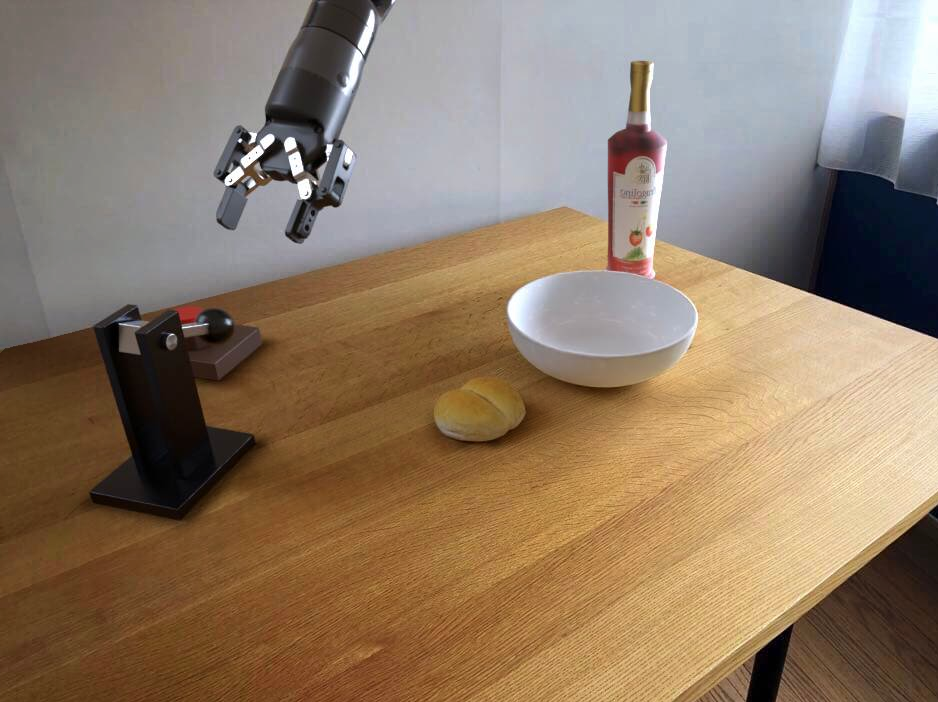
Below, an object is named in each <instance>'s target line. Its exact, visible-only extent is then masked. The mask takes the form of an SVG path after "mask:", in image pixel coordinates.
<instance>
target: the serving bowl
mask: <svg viewBox="0 0 938 702" xmlns="http://www.w3.org/2000/svg"><path fill="white" fill-rule="evenodd" d="M505 315H506V322H507V327H508V331H509V334H510V337H511V340H512V341H513V344H514V345H515V347H516V349H517V350H518V351H519V353H520V354H521V356H522V357H523V358H524V359H525V360H526V361H527V362H529V363H530V364H531V365H532V366H534V368H536V369H537V370H539V371H540V372H543V373H544V374H546V375H548V376H550V377H552V378H555V379H556V380H560V381H563V382H566V383H569V384H573V385H578V386H583V387H593V388H618V387H625V386H631V385H636V384H640V383H643V382H647V381H650V380H651V379H654V378H657V377H658V376H660V375H662V374H664V373H666V372H667V371H668V370H670V369H671V368H673V366H675V365H677V363H678V362H679V361H680V360H681V359H682V358H683V357H684V355H685V354H686V352H688V349H689V348H690V346H691V344H692V342H693V339H694V336H695V333H696V331H697V326H698V322H699V314H698V311H697V308H696V307H695V305H694V303H693V302H692V301H691V299H690V298H689V297H688V296H686V295H685V294H684V293H682V291H680V290H678V289H677V288H676V287H673V286H672V285H669V284H668V283H665V282H663V281H660V280H657V279H655V278H653V279H651V278H648V277H645V276H641V275H636V274H631V273H625V272H616V271H604V270H603V269H602V270H601V269H600V270H597V269H594V270H593V269H590V270H589V269H588V270H587V269H585V270H574V271H566V272H560V273H554V274H550V275H545V276H542V277H540V278H536V279H535V280H532V281H530V282H527V283H526V284H524V285H522V286H521V287H519V288H518V289H517V290H516V291H514V293H513V294H512V295H511V296H510V298H509V299H508V300H507V303H506V308H505Z"/></svg>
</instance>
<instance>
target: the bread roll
mask: <svg viewBox="0 0 938 702" xmlns="http://www.w3.org/2000/svg"><path fill="white" fill-rule="evenodd" d="M526 413H527V410H526V406H525V404H524V400H523V398H522V397H521V395H520V394H519V392H518V391H517V390H516V388H514V386H512V385H511V384H510V383H508V382H507V381H505V380H504V379H501V378H499V377H496V376H495V377H494V376H479V377H474V378H472V379H470V380H469V381H467V382H466V383H465V384H464V385H462V387H461V388H459V389H452V390H451V389H450V390H448V391H446V392H444V393H443V394H442V395H440V397H438V399H437V400H436V402H435V404H434V407H433V419H434V421H435V424H436V426H437V428H438V429H439V430H440V433H442V434H443V435H445V436H446V437H449V438H451V439H454V440H458V441H463V442H464V441H465V442H487V441H488V442H489V441H493V440H495V439H499V438H500V437H502V436H504V435H506V434H507V433H508V432H509V431H511V430H514V429H516V428H517V427H518V426H519V425H520V424H521V423H522V421H523V420H524V418H525V416H526Z"/></svg>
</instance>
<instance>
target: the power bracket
mask: <svg viewBox="0 0 938 702" xmlns="http://www.w3.org/2000/svg"><path fill="white" fill-rule="evenodd" d="M134 321H143V320H142V317H141V312H140V310H139V306H138V305H137V304H130V303H127V304H126V305H124V306H123V307H121V308H119V309H118V310H116V311H115V312H113V313H111V314H109V315H108V316H106V317H104V318H103V319H101V320H100V321H99V322H97V323H95V324H93V325H92V329H93V332H94V335H95V339H96V343H97V345H98V349H99V352H100V355H101V358H102V361H103V364H104V365H103V366H104V368H105V371H106V375H107V378H108V381H109V385H110V388H111V391H112V395H113V398H114V401H115V405H116V408H117V410H118V414H119V417H120V421H121V424H122V428H123V430H124V433H125V436H126V441H127V443H128V447H129V450H130V453H131V456H129V457H128V458H127V459H126V460H125V461H124V462H123V463H121V464H120V465H119V466H117V468H115V469H114V470H113V471H111V472H110V473H109V474H108V475H106V477H104V478H103V479H102V480H101V481H100V482H98V483H97V484H96V485H95V486H94V487H93V488H91V489H90V490H89V491H88V494H89V496H90V499H91V502H92V503H93V504H94V503H95V504H99V505H103V506H109V507H114V508H117V509H118V508H119V509H124V510H128V511H134V512H138V513H144V514H147V515H148V514H149V515H153V516H158V517H162V518H167V519H172V520H178V521H181V520H183V518H184V517H185V516H186V515H188V513H189V512H190V511H191V510H193V508H194V507H195V506H196V505H197V504H198V503H199V502H200V501H201V500H203V498H204V497H205V496H206V495H207V494H208V493H209V492H210V491H211V490H212V489H213V488H214V487H215V486H216V485H217V484H218V483H219V482H221V480H222V479H223V478H224V477H225V476H226V475H227V474H228V473H229V472H230V471H231V470H232V469H233V468H234V467H235V466H236V465H237V464H238V463H239V462H240V461H241V460H242V459H243V458H244V457H245V456H246V455H247V454H248V453H249V452H250V451H251V450H252V448H254V447H255V446H256V445H257V444H256V443H257V441H256V437H255V434H254V433H249V432H243V431H238V430H232V429H226V428H220V427H214V426H209V425H207V423H206V420H205V416H204V410H203V406H202V403H201V399H200V395H199V390H198V387H197V383H196V382H197V381H196V377H194V374H193V370H192V366H191V361H190V357H189V353H188V349H187V345H186V341H185V337H184V333H183V329H182V325H181V321H180V316H179V312H178V311H175V310H174V309H167V310H165V311H163V312H162V313H161V314H160V315H158V316H156V317H155V318H153V319H152V320H150V321H149V323H148V324H146V325H145V326H143V327H142V328H140V329H139V330H137V331H136V332H134V333H135V337H136V340H137V344H138V347H139V351H140V354H141V355H136V354H130V353H124V352H119V323H126V322H134Z"/></svg>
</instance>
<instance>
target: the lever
mask: <svg viewBox="0 0 938 702" xmlns="http://www.w3.org/2000/svg"><path fill="white" fill-rule="evenodd" d="M149 322H150V321H149V320H148V321H147V320H142V321H134V322H126V323H119V352H124V353H130V354H136V355H141V354H140V351H139V347H138V344H137V340H136V337H135V333H134V332H136V331H137V330H139V329H140V328H142V327H143V326H145V325H146V324H148V323H149ZM234 324H235V320H234V318H233V317H232V315H231V313H229V312H228V311H226V310H225V309H223V308H221V307H215V306H213V307H212V306H211V307H207V308H204V309H202V311H201V312H200V313H199V314H198V315H197V317H196V319H195V322H194V323H189V324H182V329H183V333H184V337H185V338H186V337H192V336H198V338H199V339H200V340H201V341H203V342H204V343H206V344H209V345H221V344H224V343H225V342H227V341H228V340H229V339H230V338H231V337H232V335H233V333H234V328H235V326H234Z"/></svg>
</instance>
